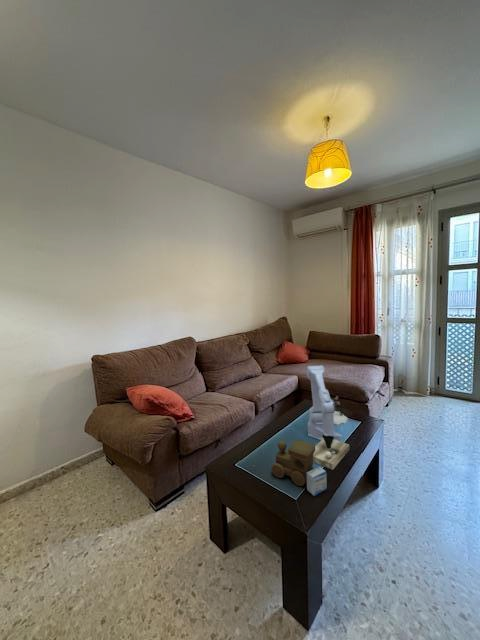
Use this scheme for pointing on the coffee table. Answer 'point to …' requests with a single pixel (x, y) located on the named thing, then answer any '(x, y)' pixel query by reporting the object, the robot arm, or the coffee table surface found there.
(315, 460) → the cream knobbed board
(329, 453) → the cream plastic ball
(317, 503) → the coffee table surface
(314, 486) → the medicine box
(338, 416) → the figurine
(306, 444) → the wooden toy train
